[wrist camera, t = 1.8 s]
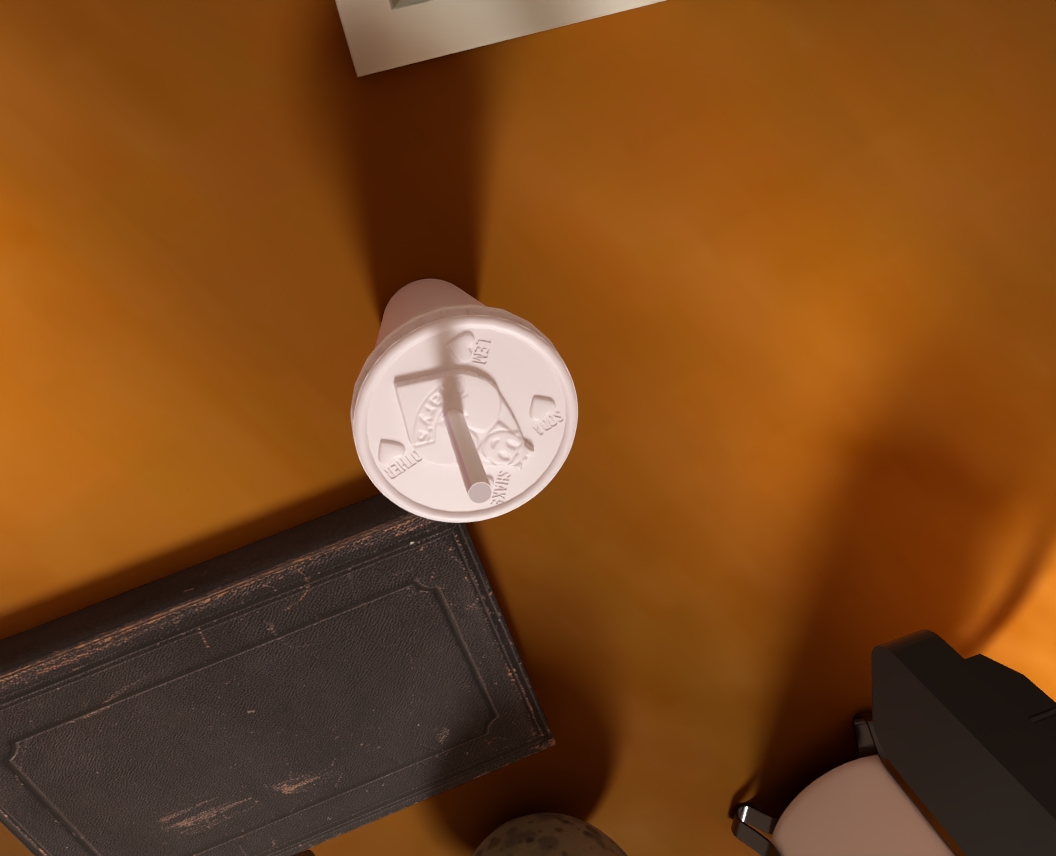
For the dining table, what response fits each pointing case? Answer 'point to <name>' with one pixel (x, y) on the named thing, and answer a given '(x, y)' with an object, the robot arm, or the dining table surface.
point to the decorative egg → (547, 838)
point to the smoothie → (460, 406)
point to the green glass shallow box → (453, 25)
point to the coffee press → (850, 812)
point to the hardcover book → (265, 695)
